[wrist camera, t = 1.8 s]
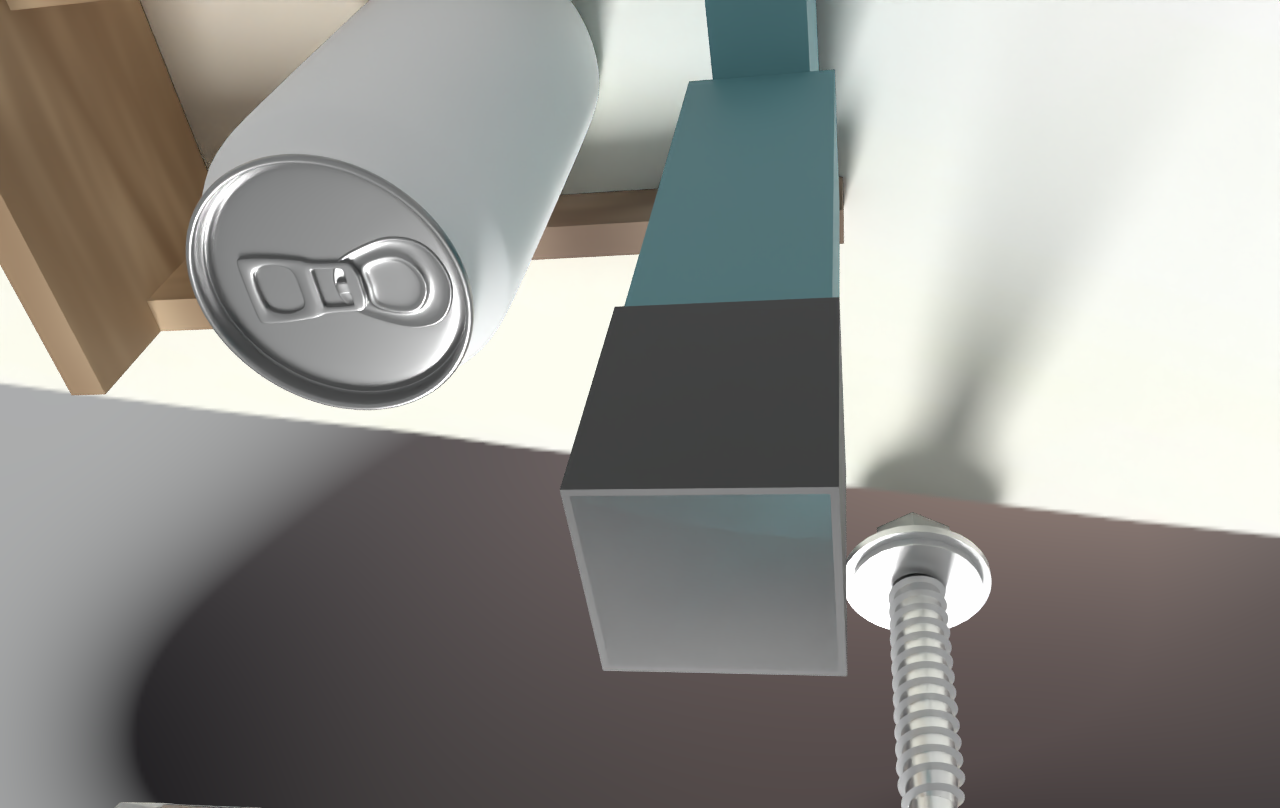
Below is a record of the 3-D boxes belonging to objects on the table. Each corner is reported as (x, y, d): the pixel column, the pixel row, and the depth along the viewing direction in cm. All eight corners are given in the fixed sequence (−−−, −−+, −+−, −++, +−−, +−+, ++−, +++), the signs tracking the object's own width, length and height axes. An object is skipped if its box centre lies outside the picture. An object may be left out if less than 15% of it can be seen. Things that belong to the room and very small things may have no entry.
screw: (884, 469, 37) (1012, 520, 38) (818, 559, 40) (938, 605, 40) (901, 818, 27) (1077, 881, 27) (811, 904, 30) (972, 960, 30)
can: (619, 167, 32) (525, 425, 22) (406, 180, 33) (232, 430, 24) (582, -71, 28) (450, 119, 18) (343, -46, 29) (106, 145, 20)
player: (837, -93, 26) (833, 369, 11) (845, 157, 30) (850, 752, 15) (703, -78, 27) (533, 378, 12) (727, 165, 31) (620, 744, 16)
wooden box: (830, -181, 26) (827, -95, 19) (843, 209, 31) (844, 371, 25) (71, -85, 30) (-137, 13, 23) (208, 246, 35) (71, 395, 29)
